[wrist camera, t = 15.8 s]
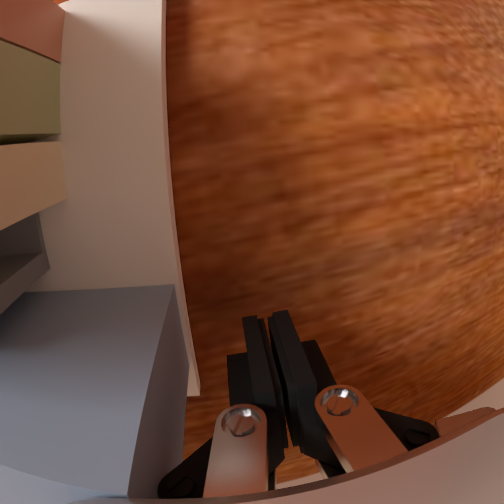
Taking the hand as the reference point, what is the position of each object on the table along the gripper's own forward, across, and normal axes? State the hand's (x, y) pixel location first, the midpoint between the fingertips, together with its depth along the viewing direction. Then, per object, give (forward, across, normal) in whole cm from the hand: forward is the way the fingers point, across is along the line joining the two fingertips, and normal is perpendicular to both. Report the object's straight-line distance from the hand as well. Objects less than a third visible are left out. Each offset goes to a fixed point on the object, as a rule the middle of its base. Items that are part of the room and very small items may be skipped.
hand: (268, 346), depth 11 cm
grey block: (+1, +9, -1) cm, 9 cm away
